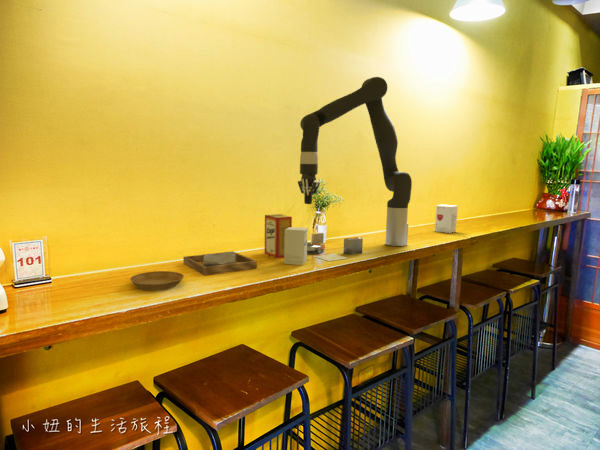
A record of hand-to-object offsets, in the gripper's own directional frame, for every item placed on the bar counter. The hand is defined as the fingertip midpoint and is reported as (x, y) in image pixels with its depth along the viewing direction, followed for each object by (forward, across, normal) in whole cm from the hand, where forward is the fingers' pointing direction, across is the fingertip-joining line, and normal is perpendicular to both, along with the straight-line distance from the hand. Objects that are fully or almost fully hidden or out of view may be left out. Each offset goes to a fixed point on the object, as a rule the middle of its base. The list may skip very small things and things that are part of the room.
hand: (308, 203), depth 180 cm
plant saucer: (+20, -24, +72) cm, 78 cm away
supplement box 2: (+19, -2, -94) cm, 96 cm away
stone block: (+20, -11, +46) cm, 51 cm away
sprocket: (+19, -7, +4) cm, 21 cm away
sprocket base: (+19, -7, +4) cm, 21 cm away
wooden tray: (+19, -12, +46) cm, 52 cm away
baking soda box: (+19, -7, +20) cm, 28 cm away
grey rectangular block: (+19, -19, -10) cm, 29 cm away
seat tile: (+19, -21, +4) cm, 29 cm away
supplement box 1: (+19, -21, +20) cm, 35 cm away
